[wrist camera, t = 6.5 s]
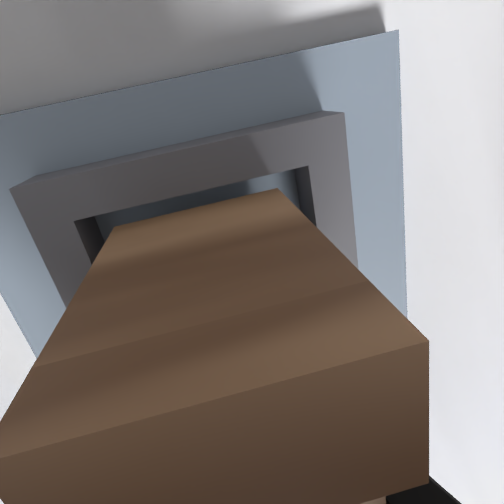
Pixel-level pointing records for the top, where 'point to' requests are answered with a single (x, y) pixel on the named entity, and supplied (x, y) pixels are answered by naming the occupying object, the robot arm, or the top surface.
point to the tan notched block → (222, 372)
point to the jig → (206, 165)
